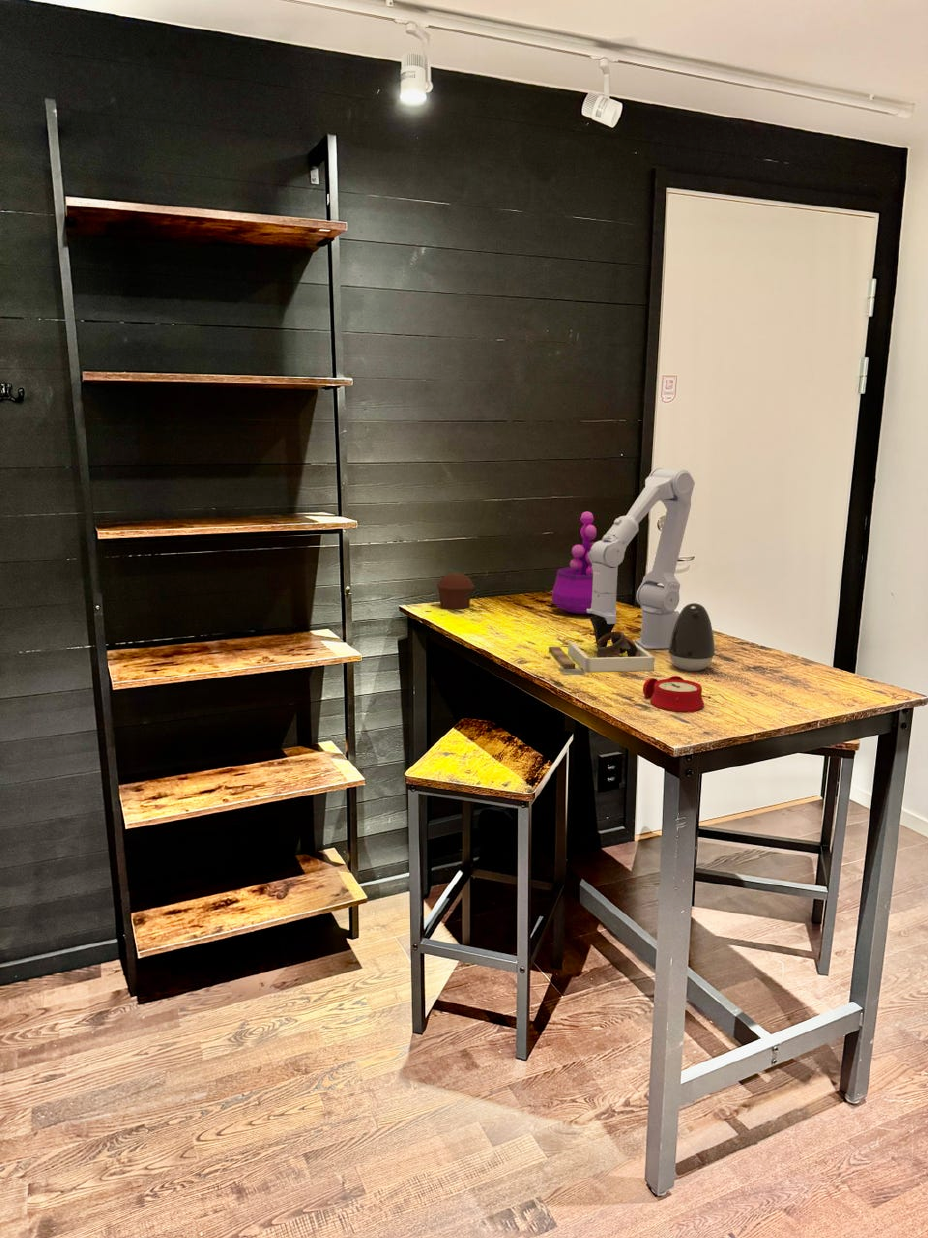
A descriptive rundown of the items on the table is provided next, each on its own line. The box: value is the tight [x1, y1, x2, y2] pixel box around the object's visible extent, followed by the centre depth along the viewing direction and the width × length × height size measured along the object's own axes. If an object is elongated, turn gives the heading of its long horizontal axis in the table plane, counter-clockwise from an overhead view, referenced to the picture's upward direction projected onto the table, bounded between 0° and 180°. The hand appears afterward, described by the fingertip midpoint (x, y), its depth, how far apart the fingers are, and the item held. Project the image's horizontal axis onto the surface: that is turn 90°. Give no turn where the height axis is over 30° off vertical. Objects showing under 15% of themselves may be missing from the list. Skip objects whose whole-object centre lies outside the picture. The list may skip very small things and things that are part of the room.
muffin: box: [436, 572, 475, 611], centre depth 258 cm, size 12×11×10 cm
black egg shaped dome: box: [668, 602, 716, 672], centre depth 194 cm, size 10×10×15 cm
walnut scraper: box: [548, 646, 586, 676], centre depth 199 cm, size 20×5×2 cm, turn 7°
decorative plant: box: [551, 511, 597, 615], centre depth 250 cm, size 19×18×30 cm
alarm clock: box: [642, 675, 712, 714], centre depth 171 cm, size 10×6×15 cm
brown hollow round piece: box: [595, 630, 639, 658], centre depth 201 cm, size 12×10×8 cm
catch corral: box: [567, 641, 656, 673], centre depth 200 cm, size 16×16×3 cm
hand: (601, 646), depth 207 cm, fingers closed
